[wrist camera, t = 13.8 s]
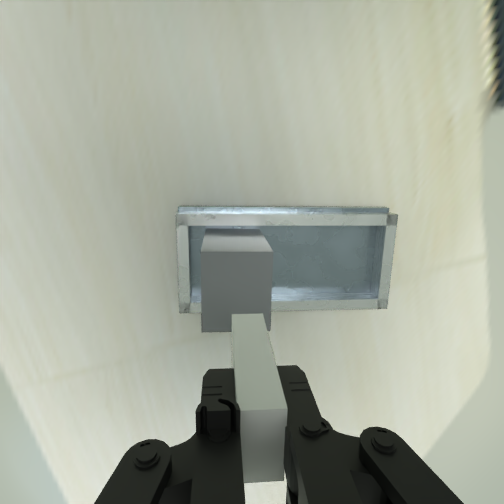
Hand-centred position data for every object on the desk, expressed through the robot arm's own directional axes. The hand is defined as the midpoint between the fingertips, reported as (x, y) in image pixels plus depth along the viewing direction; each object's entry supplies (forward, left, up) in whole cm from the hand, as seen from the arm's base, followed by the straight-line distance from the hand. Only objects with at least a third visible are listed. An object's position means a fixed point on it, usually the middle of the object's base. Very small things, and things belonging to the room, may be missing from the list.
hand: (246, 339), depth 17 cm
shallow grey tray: (+1, +5, -18) cm, 19 cm away
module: (+1, 0, -17) cm, 17 cm away
